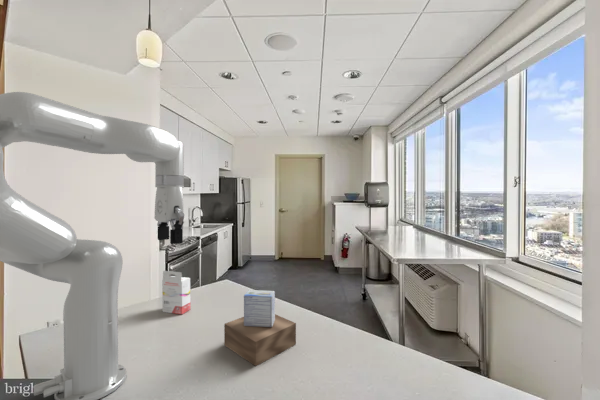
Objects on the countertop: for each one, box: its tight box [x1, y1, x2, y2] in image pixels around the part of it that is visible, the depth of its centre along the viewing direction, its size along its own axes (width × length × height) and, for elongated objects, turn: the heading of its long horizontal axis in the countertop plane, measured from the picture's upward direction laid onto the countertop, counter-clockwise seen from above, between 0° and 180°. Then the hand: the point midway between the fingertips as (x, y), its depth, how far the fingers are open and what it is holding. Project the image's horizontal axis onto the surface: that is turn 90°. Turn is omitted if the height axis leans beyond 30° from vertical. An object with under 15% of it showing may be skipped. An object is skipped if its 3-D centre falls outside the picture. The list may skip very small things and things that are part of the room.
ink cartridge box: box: [161, 270, 192, 315], centre depth 103 cm, size 9×5×15 cm, turn 73°
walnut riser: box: [223, 313, 297, 367], centre depth 80 cm, size 14×14×6 cm
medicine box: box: [243, 289, 276, 327], centre depth 79 cm, size 8×4×9 cm, turn 85°
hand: (169, 241), depth 83 cm, fingers open, 9 cm apart
